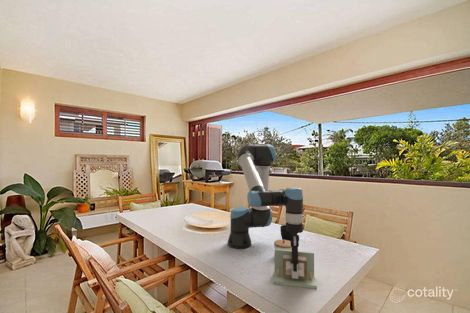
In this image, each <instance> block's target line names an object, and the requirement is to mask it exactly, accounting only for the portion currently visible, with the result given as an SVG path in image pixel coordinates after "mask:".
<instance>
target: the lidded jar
mask: <svg viewBox="0 0 470 313" xmlns="http://www.w3.org/2000/svg"><path fill="white" fill-rule="evenodd" d="M273 244H274V250H275V249H281V250H292V247H291V241H289V240H282V239H277V240H276V239H275V240H274V242H273Z"/></svg>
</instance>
